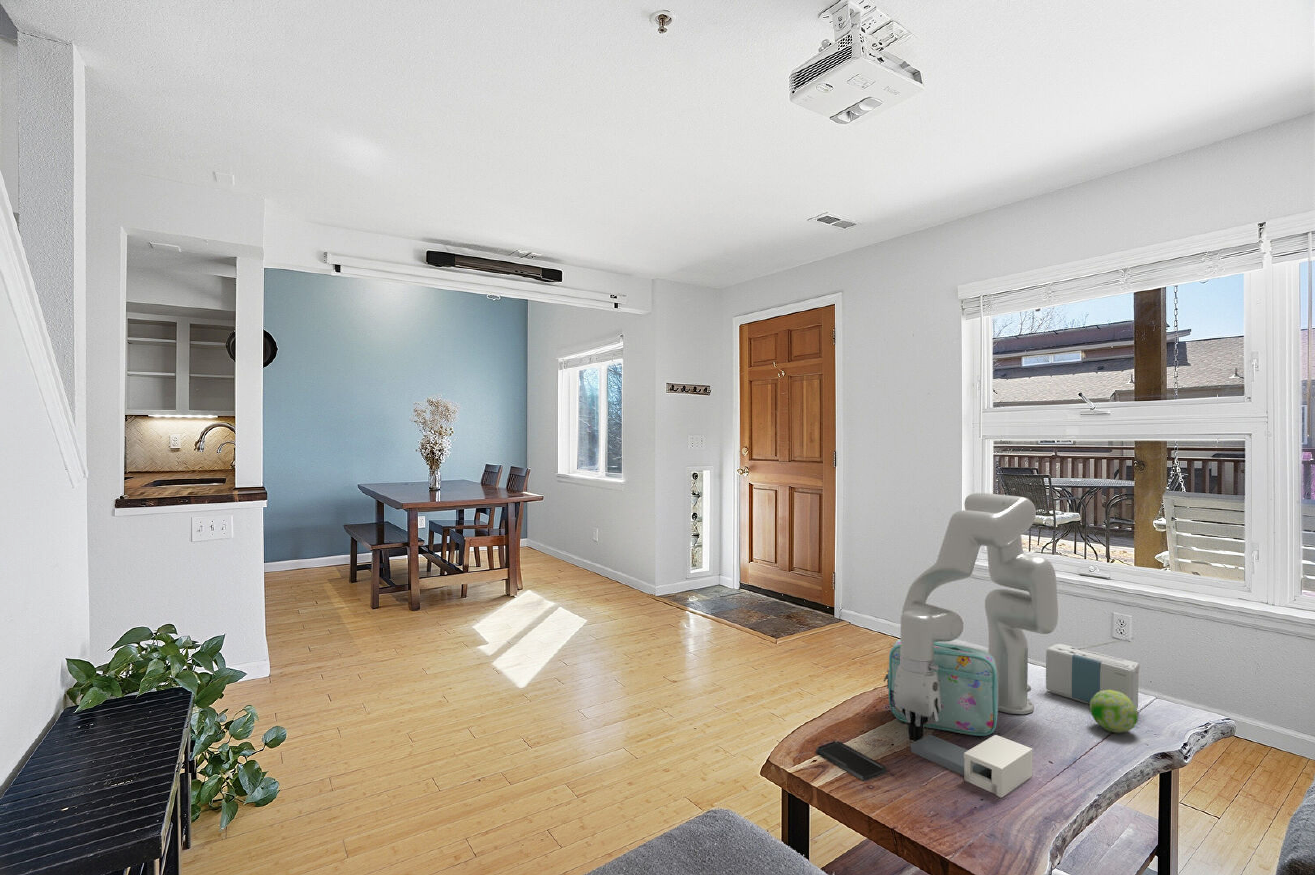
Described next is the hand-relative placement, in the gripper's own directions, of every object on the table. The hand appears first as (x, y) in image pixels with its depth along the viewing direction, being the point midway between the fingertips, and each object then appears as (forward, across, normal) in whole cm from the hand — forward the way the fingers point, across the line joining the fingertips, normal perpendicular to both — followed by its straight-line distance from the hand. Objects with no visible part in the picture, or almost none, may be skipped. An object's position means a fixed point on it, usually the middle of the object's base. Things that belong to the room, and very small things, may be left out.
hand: (915, 739), depth 155 cm
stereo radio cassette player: (+1, -15, -61) cm, 63 cm away
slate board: (+2, -10, 0) cm, 10 cm away
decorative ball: (+1, -25, -46) cm, 53 cm away
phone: (+2, +4, +20) cm, 20 cm away
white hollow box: (+1, -19, 0) cm, 19 cm away
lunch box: (+1, +2, -14) cm, 14 cm away
